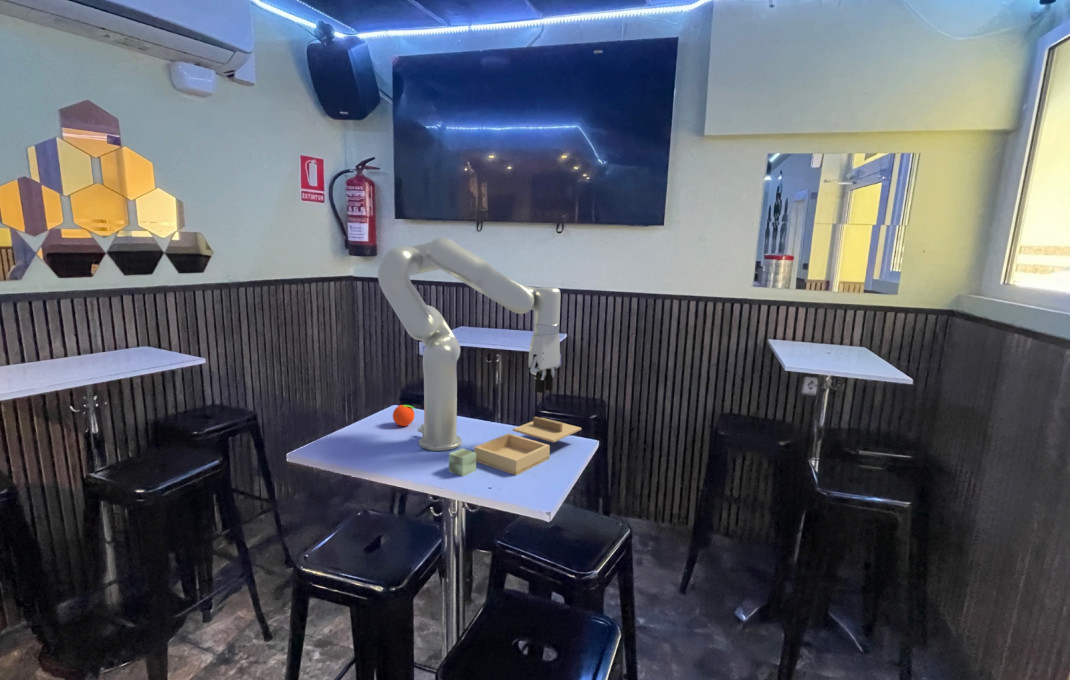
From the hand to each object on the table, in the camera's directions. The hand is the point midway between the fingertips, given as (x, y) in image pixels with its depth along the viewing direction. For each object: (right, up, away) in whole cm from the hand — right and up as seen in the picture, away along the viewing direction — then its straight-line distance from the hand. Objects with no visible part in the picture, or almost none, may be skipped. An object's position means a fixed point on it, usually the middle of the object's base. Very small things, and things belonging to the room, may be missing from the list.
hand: (544, 390), depth 155 cm
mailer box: (-9, -19, -9) cm, 22 cm away
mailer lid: (+1, -12, +4) cm, 13 cm away
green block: (-22, -20, -17) cm, 34 cm away
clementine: (-46, -13, +17) cm, 50 cm away
